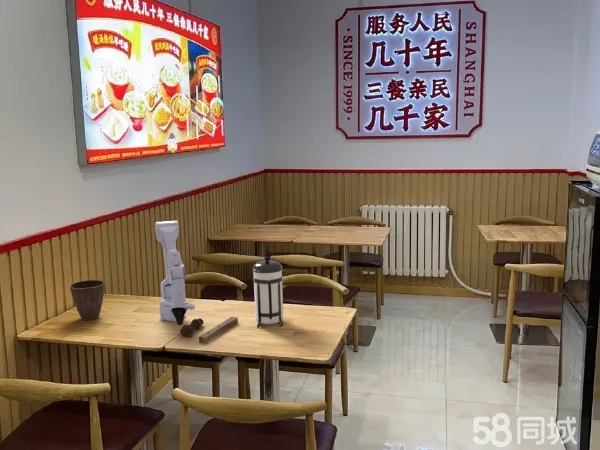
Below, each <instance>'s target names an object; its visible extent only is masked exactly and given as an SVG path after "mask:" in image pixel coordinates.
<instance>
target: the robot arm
mask: <svg viewBox="0 0 600 450" xmlns="http://www.w3.org/2000/svg"><path fill="white" fill-rule="evenodd" d="M179 225H180V224H179V222H178V220H169V221H156V222H155V224H154V229H155V236H156V240H157V242H160V244H161V246H162V252H163V261H164V269H165V279H164V280H162V281H161V283H160V295H161V300H160V302H159V313H160V314H159V315H160V318H159V320H161V321H162V320H163V321H167V322H168V321H169V322H170V321H171V322H176V324H177V325H178V326H181V325H182V326H183V325H184V319H185V318H186V317H187V314H186V313H187V311H188V310H190V311H194V310H195V309H196V307H195V304H193V303H190V302H187V301H186V287H185V279H186V267H185V265H184V263H183V262H182V258H181V257H182V256H181V253H180V251H179V250H177V244H176V241H177V239H178V236H179V234H180V226H179Z"/></svg>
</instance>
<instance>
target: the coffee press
mask: <svg viewBox="0 0 600 450" xmlns="http://www.w3.org/2000/svg"><path fill="white" fill-rule="evenodd" d="M270 258H271V257H270V256H269V255H266V256H265V255H264V260H261V261H260V260H259V261H258V262H256V263H254V265H253V267H252V272H253V277H252V279H253V280H252V281H253V288H254V289H253V291H254V313H255V316H254V317H255V320H256V322H257V325H256V328H258V329H261V328H262V327H263V325H272V324H276V325H278V326H279V327H280V328H281V327H283V326H285V324H284V322H283V319H284V301H283V300H284V299H283V273H282V272H283V266H282V264H281V263H280V262H279V261H276V260H270Z"/></svg>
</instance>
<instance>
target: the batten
mask: <svg viewBox="0 0 600 450" xmlns="http://www.w3.org/2000/svg"><path fill="white" fill-rule="evenodd" d="M238 319H239V318H238V316H237V317H236V316H230V317H229V318H227V319H225V320H223V321H222V322H220V323H219V324H217V325H215V326H213V327H212V328H211V329H209V330H207V331H205V332H204V333H202V334H201V335H198V343H199V344H207V343H208V342H211V341H212V340H213V339H215V338H216V337H218V336H219V335H221V334H223V333H224V332H226V331H227V330H228V329H231V328H232V327H233V326H235V325H237V324H238V322H239V320H238Z"/></svg>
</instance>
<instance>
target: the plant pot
mask: <svg viewBox="0 0 600 450" xmlns="http://www.w3.org/2000/svg"><path fill="white" fill-rule="evenodd" d="M69 291H70V293H71V297H72V300H73V303H74V305H75V308H76V311H77V312H78V315H79V316H80V319H81V320H83V321H91V320H92V321H93V320H97V319H98V318H99V317H100V314H101V312H102V311H101V310H102V306H103V301H104V292H105V281H104V280H99V279H89V280H81V281H76V282H73V283H71V284H70V285H69Z"/></svg>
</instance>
